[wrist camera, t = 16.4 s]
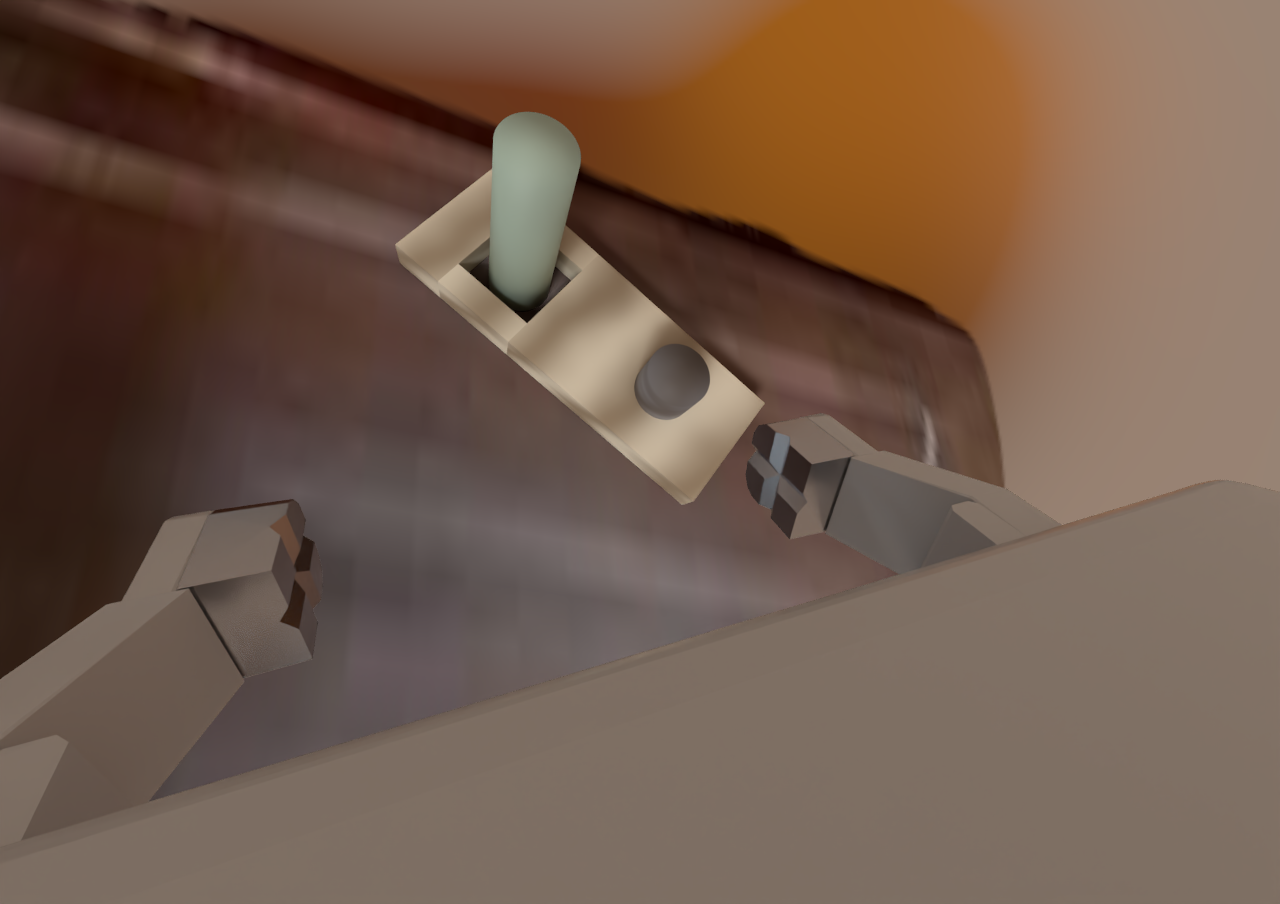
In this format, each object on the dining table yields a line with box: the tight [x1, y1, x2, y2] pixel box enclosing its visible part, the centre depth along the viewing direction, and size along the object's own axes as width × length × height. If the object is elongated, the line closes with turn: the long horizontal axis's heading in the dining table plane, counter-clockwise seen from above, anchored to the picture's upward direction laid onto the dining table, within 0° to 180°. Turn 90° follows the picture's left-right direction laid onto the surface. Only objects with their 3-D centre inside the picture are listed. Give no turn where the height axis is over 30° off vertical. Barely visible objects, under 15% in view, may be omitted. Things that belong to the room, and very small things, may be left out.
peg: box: [488, 112, 581, 311], centre depth 30 cm, size 4×4×12 cm
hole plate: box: [395, 169, 764, 505], centre depth 33 cm, size 24×9×5 cm, turn 52°
